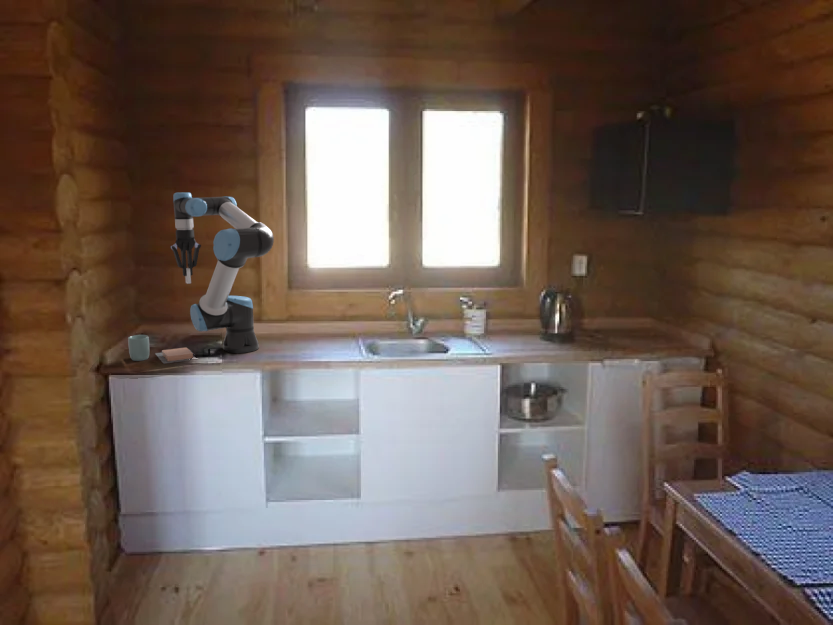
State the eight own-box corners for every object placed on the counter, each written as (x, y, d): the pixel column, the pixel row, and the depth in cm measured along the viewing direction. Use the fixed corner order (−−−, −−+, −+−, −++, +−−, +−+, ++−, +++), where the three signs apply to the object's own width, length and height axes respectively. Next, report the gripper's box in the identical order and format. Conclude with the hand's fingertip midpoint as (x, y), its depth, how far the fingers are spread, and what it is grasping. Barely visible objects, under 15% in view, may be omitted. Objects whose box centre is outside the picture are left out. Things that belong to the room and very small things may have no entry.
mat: (155, 355, 313) (154, 353, 313) (188, 351, 320) (188, 349, 320) (163, 365, 298) (163, 363, 298) (199, 360, 305) (198, 359, 305)
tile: (162, 350, 309) (167, 356, 300) (186, 347, 314) (192, 353, 305) (162, 355, 310) (167, 361, 300) (186, 352, 315) (193, 358, 305)
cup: (143, 357, 310) (141, 333, 308) (153, 360, 306) (152, 336, 304) (126, 361, 305) (124, 337, 302) (136, 364, 300) (134, 340, 298)
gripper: (196, 227, 326) (200, 280, 331) (166, 229, 319) (170, 283, 324) (202, 228, 320) (205, 282, 325) (171, 230, 313) (175, 285, 318)
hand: (188, 283), depth 324 cm, fingers closed
